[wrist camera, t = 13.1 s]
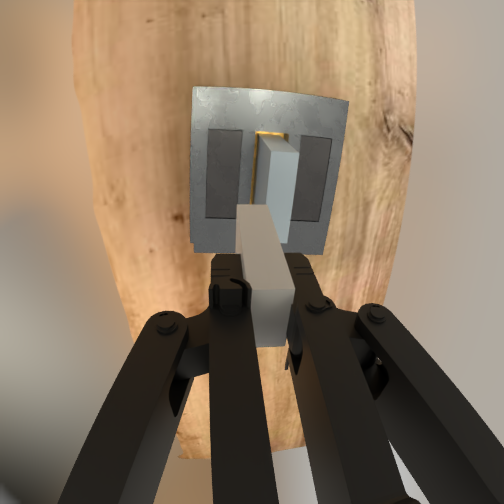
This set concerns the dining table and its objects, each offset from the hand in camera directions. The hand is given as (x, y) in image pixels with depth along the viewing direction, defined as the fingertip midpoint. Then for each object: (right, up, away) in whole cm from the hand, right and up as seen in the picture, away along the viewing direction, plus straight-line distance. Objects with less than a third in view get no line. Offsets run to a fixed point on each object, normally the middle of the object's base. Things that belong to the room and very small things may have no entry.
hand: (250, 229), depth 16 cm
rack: (+2, +9, +22) cm, 24 cm away
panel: (+2, +9, +21) cm, 23 cm away
